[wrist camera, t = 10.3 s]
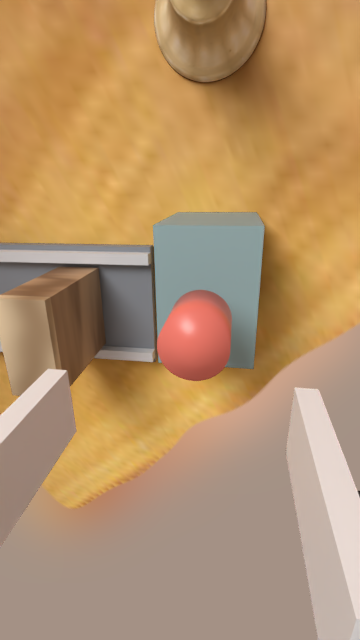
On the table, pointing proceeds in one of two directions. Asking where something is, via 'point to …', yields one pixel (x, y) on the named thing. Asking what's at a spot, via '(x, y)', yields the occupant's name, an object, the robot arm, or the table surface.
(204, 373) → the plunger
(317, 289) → the table surface
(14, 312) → the tan rectangular block
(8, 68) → the table surface
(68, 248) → the track
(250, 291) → the cabinet
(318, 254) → the table surface
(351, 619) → the robot arm
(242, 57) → the hand bell
